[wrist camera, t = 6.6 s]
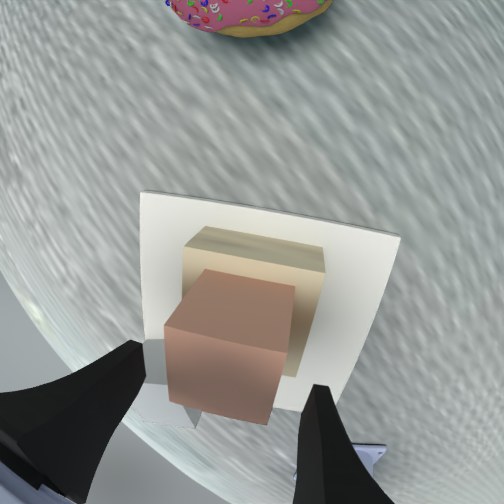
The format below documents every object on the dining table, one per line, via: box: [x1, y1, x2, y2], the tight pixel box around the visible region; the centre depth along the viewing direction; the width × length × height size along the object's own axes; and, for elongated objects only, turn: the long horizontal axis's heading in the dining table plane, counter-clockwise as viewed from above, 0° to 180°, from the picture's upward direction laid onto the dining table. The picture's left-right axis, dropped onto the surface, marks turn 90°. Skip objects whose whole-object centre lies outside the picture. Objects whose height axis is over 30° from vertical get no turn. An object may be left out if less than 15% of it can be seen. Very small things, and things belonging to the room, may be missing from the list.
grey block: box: [132, 339, 202, 428], centre depth 20 cm, size 4×4×5 cm
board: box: [140, 190, 401, 412], centre depth 20 cm, size 16×16×1 cm
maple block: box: [182, 226, 326, 378], centre depth 17 cm, size 7×7×4 cm
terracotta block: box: [164, 269, 295, 425], centre depth 13 cm, size 4×4×5 cm
